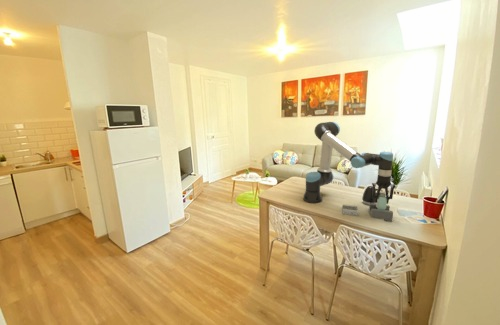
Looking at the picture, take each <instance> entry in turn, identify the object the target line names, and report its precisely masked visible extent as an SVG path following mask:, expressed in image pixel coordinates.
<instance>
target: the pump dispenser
mask: <svg viewBox="0 0 500 325" xmlns="http://www.w3.org/2000/svg"><path fill="white" fill-rule="evenodd" d="M377 190H378V188H375V196H376V193H377ZM372 191H373V186H372V185H368V186H366V188H365V190H364V192H363V194H362V197H361V199H362V202H363V204H364V205H367V206H369V204H370V203H374V204H376V203H375V198H373V196H372Z"/></svg>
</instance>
